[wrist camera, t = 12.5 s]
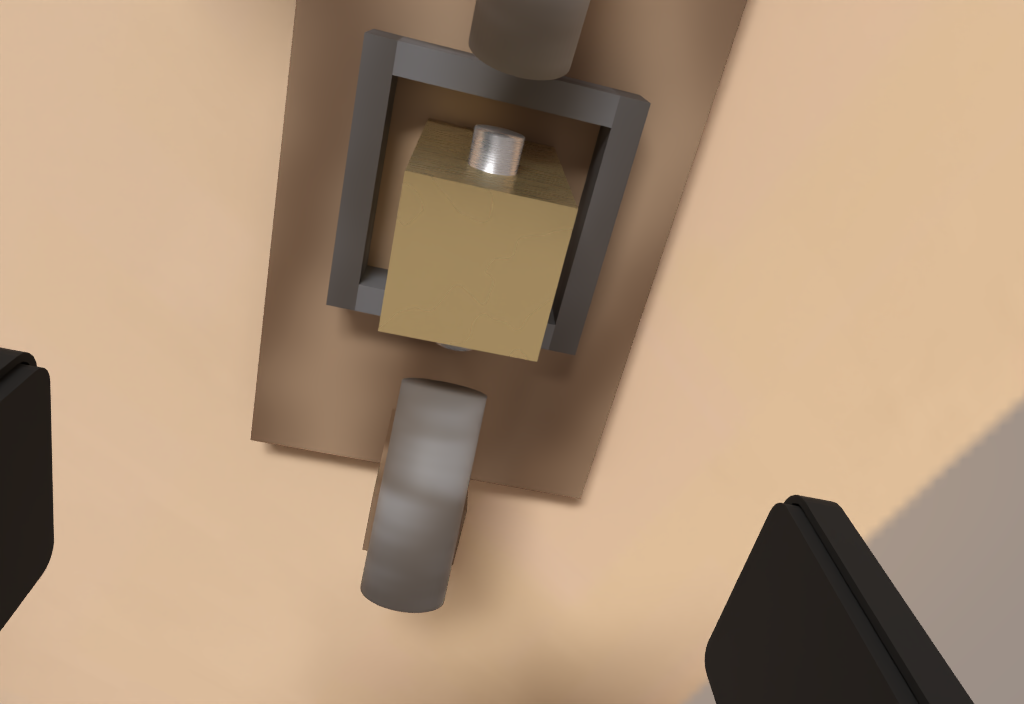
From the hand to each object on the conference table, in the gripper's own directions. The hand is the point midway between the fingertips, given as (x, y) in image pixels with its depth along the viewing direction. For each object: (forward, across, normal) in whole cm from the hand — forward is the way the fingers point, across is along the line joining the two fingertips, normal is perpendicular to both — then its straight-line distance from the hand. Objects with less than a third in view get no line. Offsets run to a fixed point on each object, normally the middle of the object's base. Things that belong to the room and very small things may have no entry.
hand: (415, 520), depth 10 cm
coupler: (+19, -1, 0) cm, 19 cm away
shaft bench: (+20, -1, 0) cm, 20 cm away
